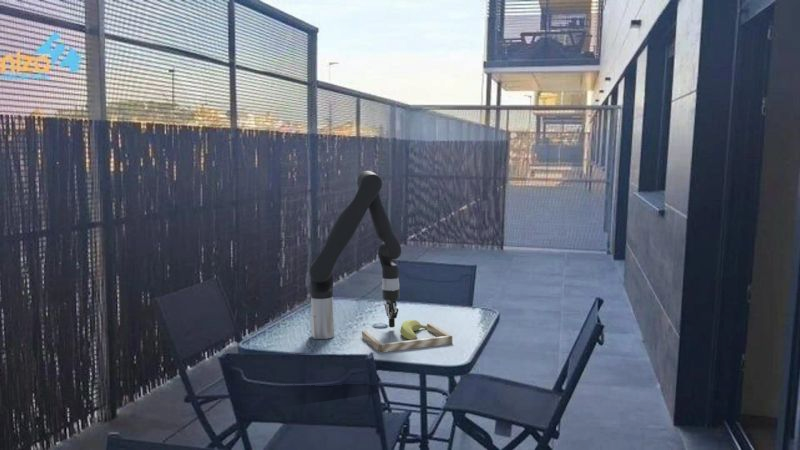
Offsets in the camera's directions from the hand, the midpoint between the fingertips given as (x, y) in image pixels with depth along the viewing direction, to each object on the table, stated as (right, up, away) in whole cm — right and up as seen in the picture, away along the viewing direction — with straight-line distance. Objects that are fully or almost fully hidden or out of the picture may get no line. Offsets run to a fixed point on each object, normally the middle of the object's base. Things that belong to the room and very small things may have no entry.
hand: (391, 326), depth 303 cm
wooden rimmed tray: (+6, -3, -16) cm, 17 cm away
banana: (+11, -2, -7) cm, 13 cm away
